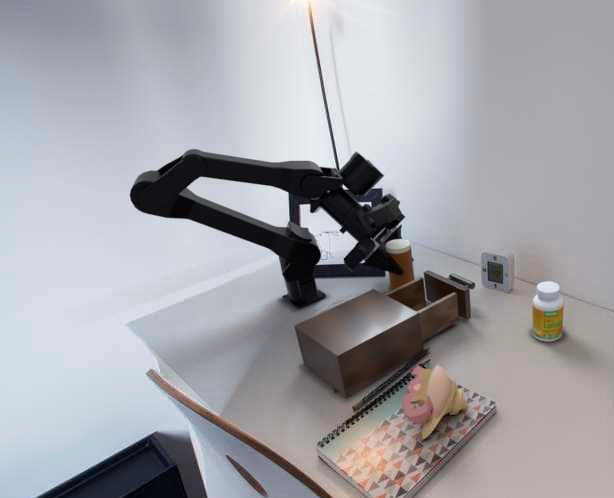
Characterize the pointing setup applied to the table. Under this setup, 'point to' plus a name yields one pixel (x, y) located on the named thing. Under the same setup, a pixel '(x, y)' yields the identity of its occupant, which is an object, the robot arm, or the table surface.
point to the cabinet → (359, 341)
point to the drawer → (436, 300)
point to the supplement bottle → (548, 312)
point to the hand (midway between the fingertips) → (407, 267)
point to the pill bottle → (400, 262)
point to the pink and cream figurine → (431, 398)
